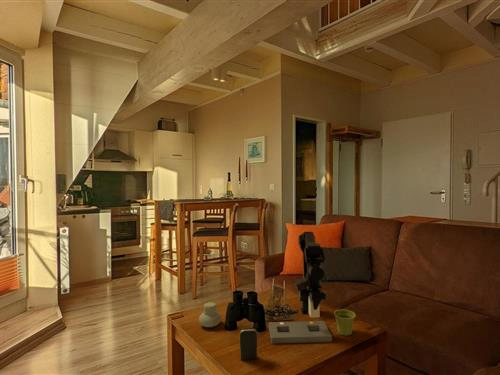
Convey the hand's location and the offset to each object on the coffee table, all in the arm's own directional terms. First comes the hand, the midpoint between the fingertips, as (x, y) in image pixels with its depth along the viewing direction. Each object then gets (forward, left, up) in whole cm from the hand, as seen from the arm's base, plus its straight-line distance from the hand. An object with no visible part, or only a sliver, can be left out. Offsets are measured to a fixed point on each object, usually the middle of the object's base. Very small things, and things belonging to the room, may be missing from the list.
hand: (314, 307), depth 137 cm
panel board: (0, -7, -12) cm, 14 cm away
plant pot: (-1, +14, -12) cm, 19 cm away
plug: (0, 0, -4) cm, 4 cm away
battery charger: (+16, -30, -12) cm, 36 cm away
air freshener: (-12, -48, -12) cm, 51 cm away
